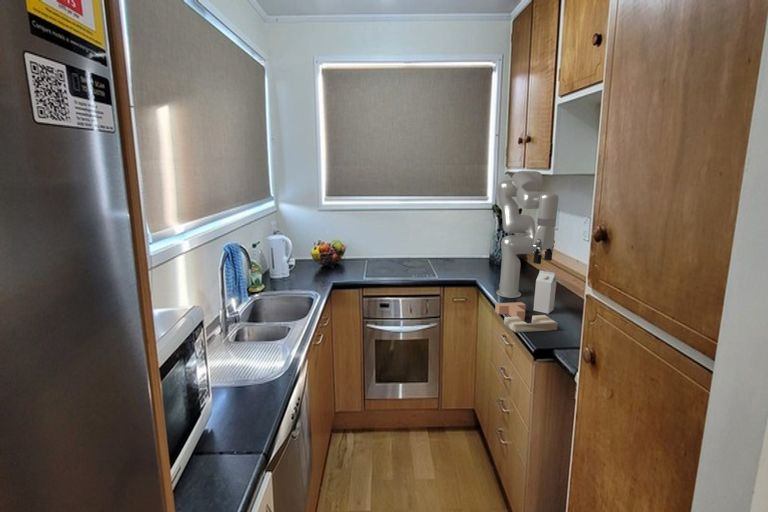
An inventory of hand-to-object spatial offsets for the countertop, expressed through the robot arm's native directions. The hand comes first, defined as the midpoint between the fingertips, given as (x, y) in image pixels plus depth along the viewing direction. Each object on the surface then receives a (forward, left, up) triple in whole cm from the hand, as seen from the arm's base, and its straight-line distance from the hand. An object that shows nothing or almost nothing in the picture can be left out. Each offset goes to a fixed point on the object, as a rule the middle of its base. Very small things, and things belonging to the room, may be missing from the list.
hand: (542, 261), depth 189 cm
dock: (+8, -8, -26) cm, 29 cm away
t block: (-6, -8, -26) cm, 28 cm away
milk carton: (-10, +9, -27) cm, 30 cm away
